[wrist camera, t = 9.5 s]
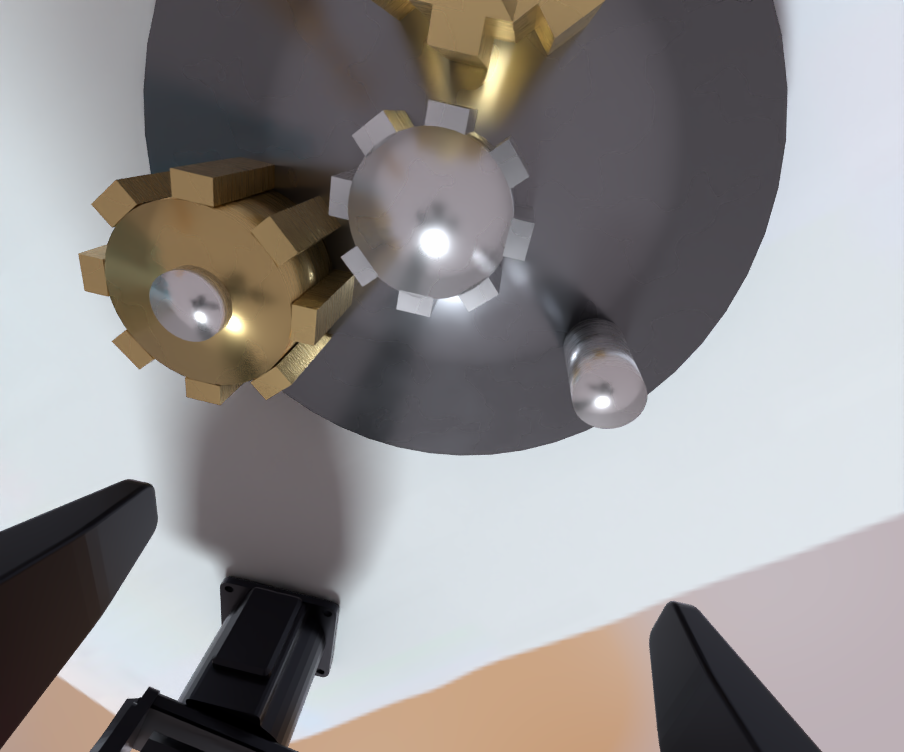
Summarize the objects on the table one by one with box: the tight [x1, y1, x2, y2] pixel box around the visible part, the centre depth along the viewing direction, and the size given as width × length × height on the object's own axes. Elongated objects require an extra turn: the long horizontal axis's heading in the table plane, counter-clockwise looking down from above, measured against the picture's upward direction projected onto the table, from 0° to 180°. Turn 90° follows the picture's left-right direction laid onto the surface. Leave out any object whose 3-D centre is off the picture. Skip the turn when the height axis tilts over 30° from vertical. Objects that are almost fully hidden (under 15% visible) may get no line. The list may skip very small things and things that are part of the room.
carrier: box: [79, 0, 787, 455], centre depth 14 cm, size 19×19×6 cm
